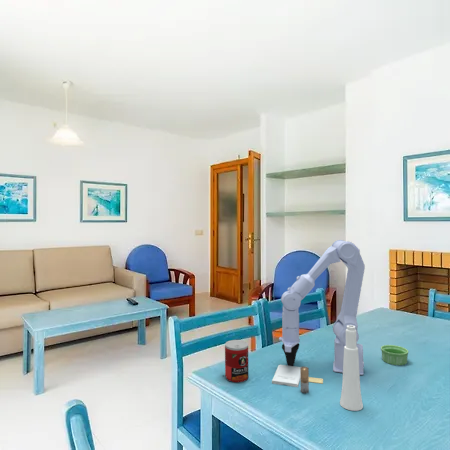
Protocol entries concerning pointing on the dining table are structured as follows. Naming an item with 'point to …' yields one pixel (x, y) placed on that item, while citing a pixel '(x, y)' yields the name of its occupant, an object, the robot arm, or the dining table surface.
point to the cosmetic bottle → (351, 373)
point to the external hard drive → (287, 376)
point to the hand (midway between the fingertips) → (290, 365)
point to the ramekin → (394, 354)
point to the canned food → (236, 360)
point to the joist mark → (315, 380)
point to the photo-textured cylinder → (304, 379)
